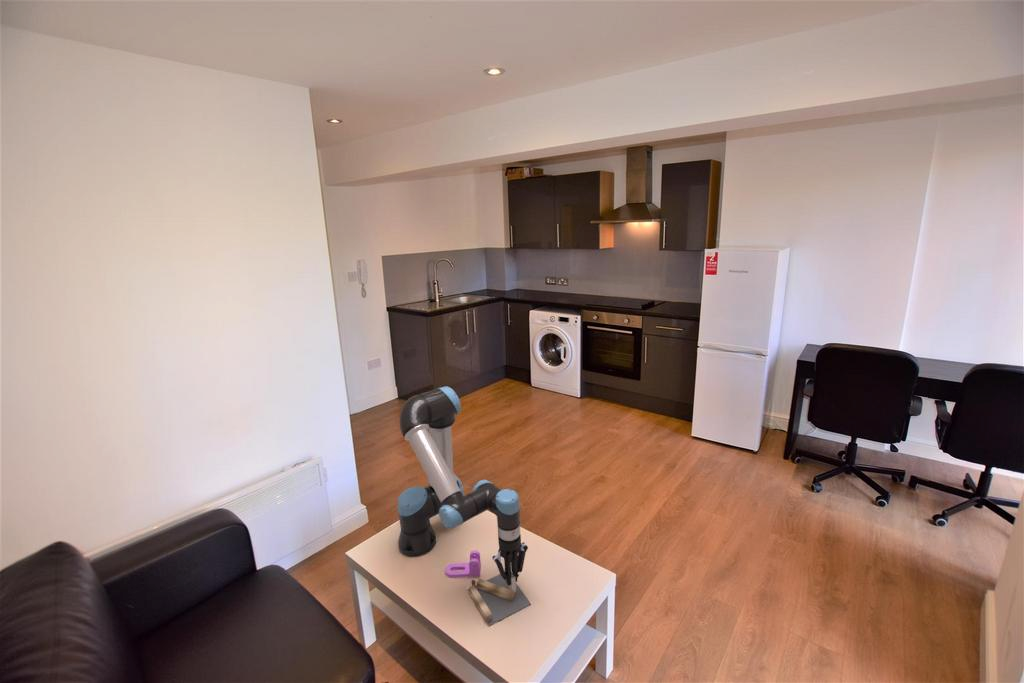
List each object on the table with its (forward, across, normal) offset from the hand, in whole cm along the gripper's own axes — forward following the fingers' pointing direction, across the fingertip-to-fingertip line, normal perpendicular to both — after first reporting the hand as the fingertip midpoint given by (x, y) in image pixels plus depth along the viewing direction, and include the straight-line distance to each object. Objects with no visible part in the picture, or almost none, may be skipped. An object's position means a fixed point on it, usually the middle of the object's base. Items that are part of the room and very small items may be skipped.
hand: (512, 590), depth 159 cm
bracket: (+2, -10, +19) cm, 22 cm away
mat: (+2, -5, +1) cm, 5 cm away
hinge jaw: (+1, -5, +3) cm, 6 cm away
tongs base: (+1, -11, +2) cm, 12 cm away
